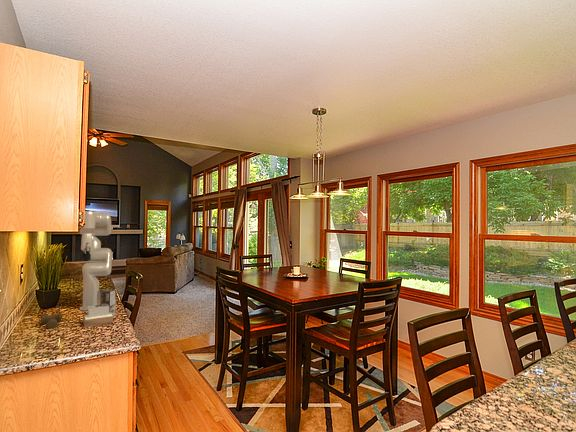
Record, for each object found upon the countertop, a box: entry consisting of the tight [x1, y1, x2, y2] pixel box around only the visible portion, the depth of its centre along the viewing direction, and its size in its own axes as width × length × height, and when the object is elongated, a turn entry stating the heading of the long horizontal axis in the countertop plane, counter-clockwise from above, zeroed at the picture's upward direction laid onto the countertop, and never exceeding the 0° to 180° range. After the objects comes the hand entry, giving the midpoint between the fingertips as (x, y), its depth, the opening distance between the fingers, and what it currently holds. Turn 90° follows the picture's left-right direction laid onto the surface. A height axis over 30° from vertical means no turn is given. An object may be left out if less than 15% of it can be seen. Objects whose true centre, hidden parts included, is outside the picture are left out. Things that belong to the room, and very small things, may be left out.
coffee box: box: [97, 289, 117, 317], centre depth 203 cm, size 9×6×16 cm
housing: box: [84, 304, 112, 318], centre depth 188 cm, size 6×13×6 cm, turn 127°
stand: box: [82, 314, 114, 328], centre depth 188 cm, size 9×14×4 cm, turn 127°
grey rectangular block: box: [40, 312, 63, 330], centre depth 185 cm, size 6×10×20 cm
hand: (86, 259), depth 194 cm, fingers open, 9 cm apart
